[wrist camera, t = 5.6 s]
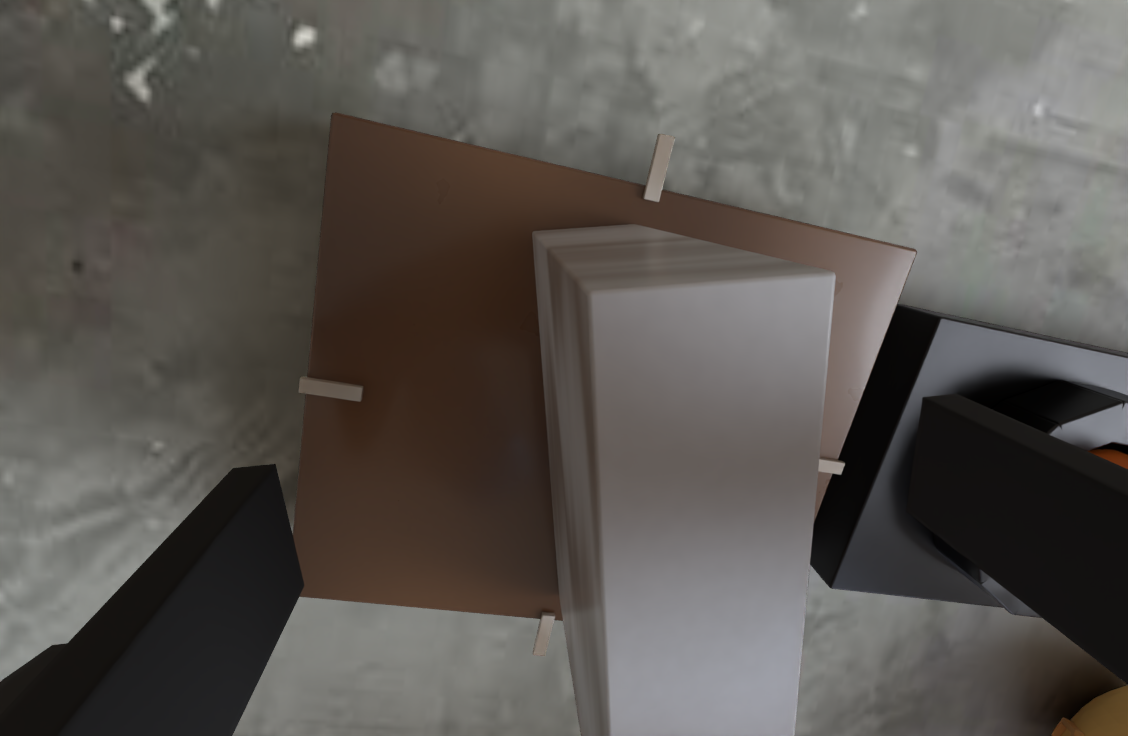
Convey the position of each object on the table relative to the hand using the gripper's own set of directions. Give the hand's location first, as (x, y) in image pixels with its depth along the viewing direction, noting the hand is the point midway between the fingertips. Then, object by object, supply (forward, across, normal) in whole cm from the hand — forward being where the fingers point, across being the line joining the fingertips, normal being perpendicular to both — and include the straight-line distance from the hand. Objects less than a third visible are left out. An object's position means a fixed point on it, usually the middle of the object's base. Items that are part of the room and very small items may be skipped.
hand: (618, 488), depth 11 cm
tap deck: (+6, 0, 0) cm, 6 cm away
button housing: (+6, +14, -4) cm, 16 cm away
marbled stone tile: (+3, 0, 0) cm, 3 cm away
